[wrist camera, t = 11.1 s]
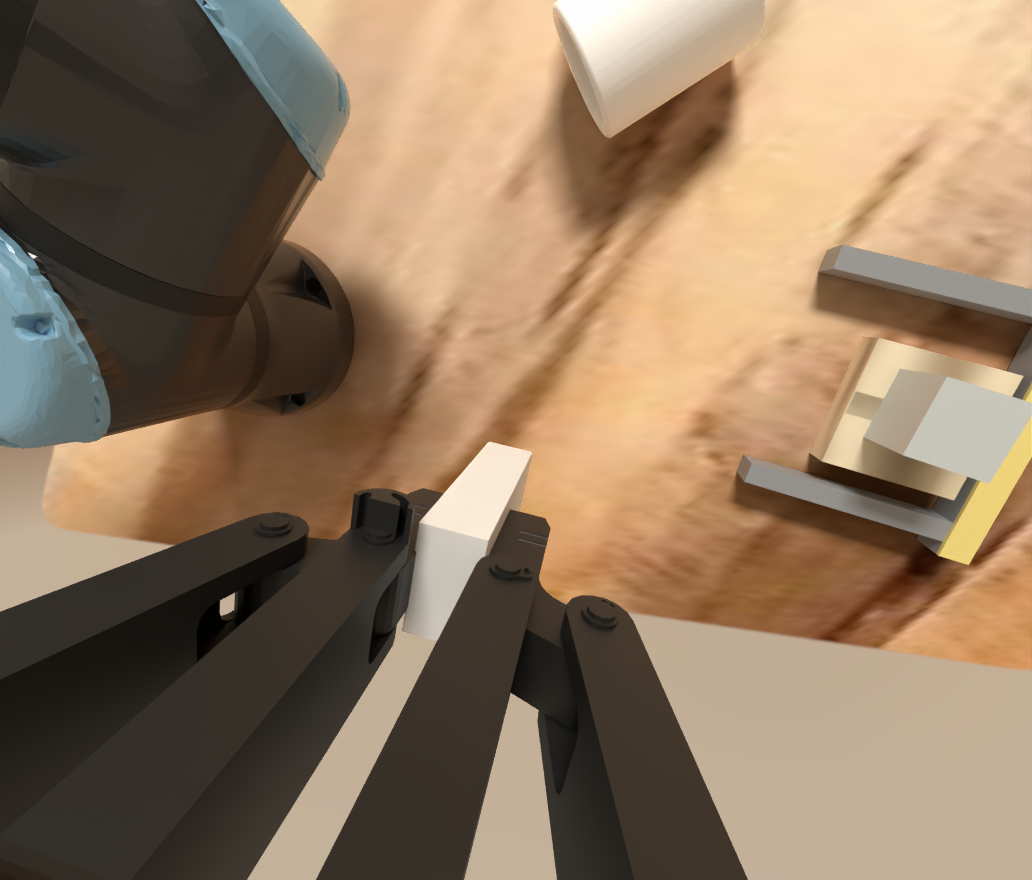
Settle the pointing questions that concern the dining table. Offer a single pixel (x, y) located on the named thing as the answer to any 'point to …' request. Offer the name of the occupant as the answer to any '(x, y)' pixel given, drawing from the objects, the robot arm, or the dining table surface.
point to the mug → (649, 49)
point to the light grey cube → (949, 423)
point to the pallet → (863, 398)
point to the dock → (977, 504)
